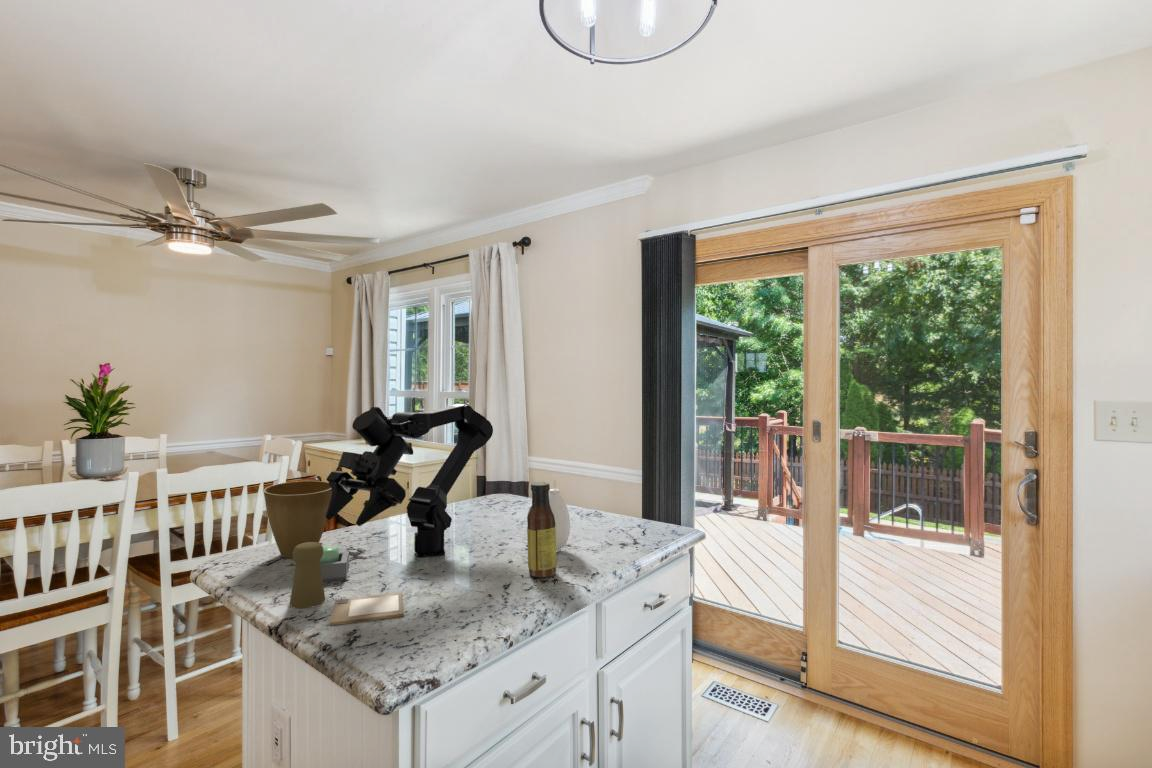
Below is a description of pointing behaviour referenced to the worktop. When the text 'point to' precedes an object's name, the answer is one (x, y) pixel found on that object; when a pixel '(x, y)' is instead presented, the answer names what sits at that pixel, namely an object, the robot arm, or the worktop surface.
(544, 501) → the sauce bottle
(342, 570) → the button housing
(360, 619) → the tan rectangular board
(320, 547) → the cork
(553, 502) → the white vase
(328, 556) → the button
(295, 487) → the plant pot
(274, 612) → the worktop surface
